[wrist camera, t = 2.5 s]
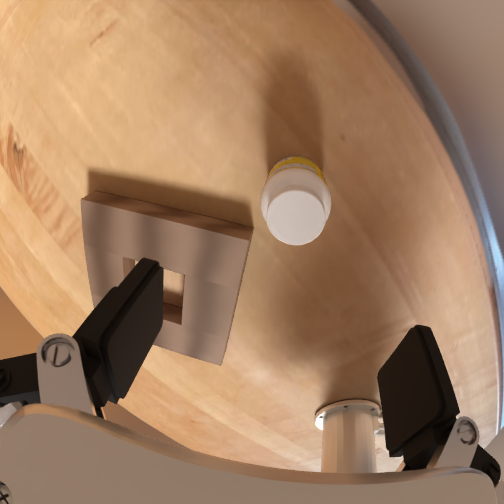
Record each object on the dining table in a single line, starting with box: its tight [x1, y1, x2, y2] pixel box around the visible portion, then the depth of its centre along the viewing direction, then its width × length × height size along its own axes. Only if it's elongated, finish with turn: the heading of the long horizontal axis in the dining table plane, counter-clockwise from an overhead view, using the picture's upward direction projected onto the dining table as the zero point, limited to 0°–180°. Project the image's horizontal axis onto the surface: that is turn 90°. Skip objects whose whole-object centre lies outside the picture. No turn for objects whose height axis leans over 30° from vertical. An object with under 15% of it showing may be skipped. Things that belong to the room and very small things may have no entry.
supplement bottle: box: [260, 156, 331, 245], centre depth 23 cm, size 5×5×10 cm
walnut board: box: [81, 191, 254, 366], centre depth 34 cm, size 20×20×3 cm
